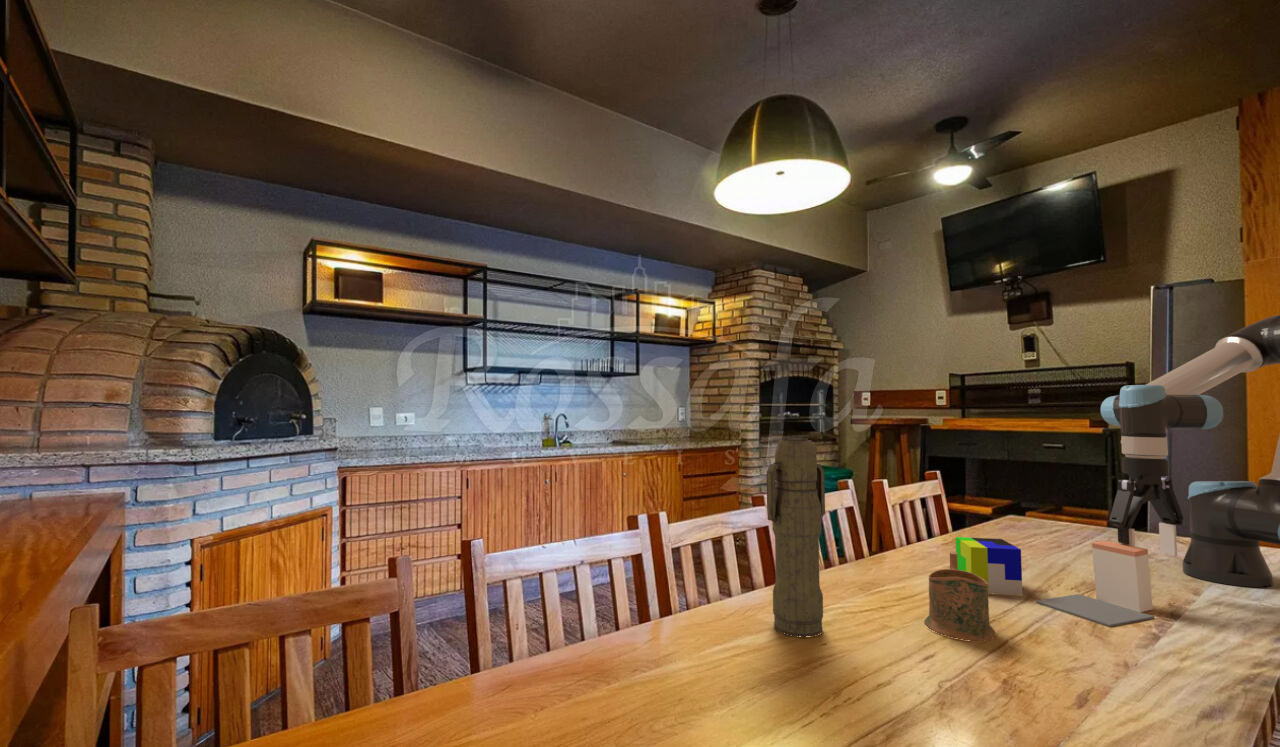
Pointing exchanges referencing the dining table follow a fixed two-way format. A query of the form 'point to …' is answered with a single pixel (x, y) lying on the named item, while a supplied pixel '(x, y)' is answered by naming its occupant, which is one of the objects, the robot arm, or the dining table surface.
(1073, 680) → the dining table surface
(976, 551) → the puzzle toy
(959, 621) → the brown hat
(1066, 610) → the mat
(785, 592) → the robed figure statue
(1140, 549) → the tall block
